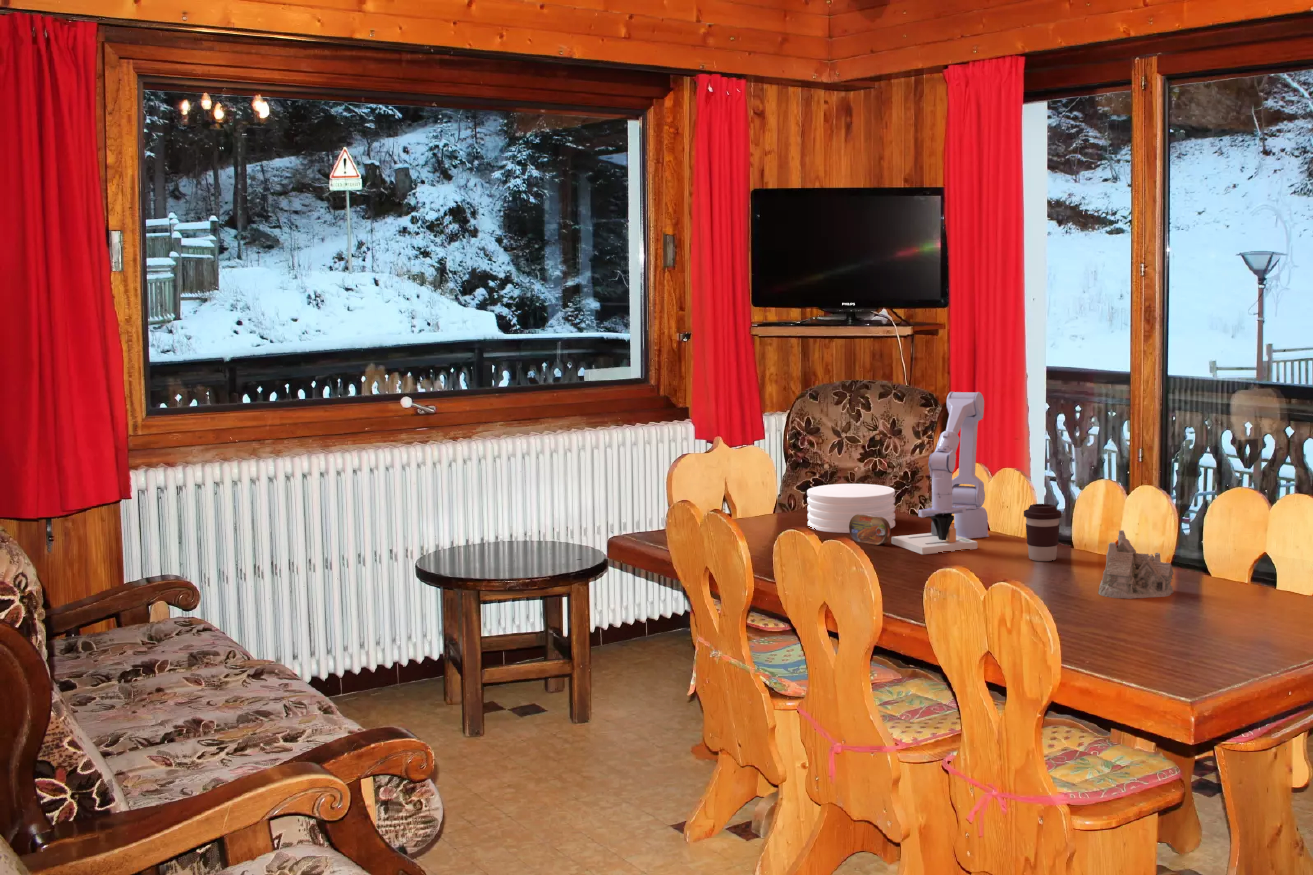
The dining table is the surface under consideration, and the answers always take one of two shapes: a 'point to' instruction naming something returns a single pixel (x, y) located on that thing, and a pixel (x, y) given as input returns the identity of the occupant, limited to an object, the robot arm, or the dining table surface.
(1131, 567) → the ceramic cottage
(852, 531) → the tin
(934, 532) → the gray rectangular block
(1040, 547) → the coffee cup
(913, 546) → the board
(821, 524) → the plate stack
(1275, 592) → the dining table surface
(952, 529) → the switch
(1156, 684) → the dining table surface
